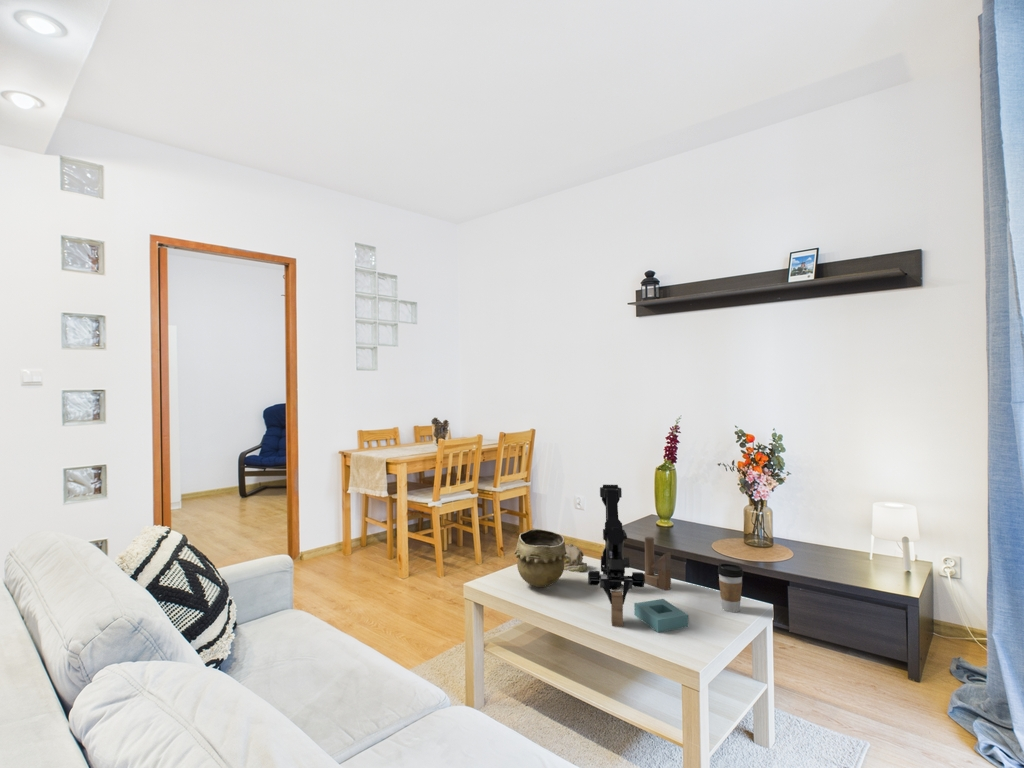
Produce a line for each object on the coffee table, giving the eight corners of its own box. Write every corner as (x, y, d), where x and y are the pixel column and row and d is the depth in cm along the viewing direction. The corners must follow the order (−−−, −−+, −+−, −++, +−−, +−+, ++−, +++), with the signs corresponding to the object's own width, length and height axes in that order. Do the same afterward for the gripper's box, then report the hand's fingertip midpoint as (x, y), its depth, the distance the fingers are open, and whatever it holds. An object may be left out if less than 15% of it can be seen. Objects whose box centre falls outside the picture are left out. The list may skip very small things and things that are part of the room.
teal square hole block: (634, 614, 188) (634, 603, 188) (663, 610, 192) (663, 598, 192) (657, 632, 175) (657, 619, 175) (688, 627, 178) (688, 614, 178)
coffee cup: (714, 603, 197) (714, 562, 197) (738, 603, 197) (738, 562, 197) (722, 613, 188) (722, 570, 188) (747, 613, 188) (747, 570, 188)
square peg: (611, 620, 184) (611, 590, 184) (622, 621, 183) (621, 591, 183) (612, 626, 180) (611, 595, 180) (622, 626, 179) (622, 595, 179)
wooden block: (665, 590, 210) (665, 543, 210) (642, 582, 218) (642, 537, 218) (671, 588, 212) (671, 541, 212) (648, 580, 220) (648, 535, 220)
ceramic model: (550, 567, 237) (550, 544, 237) (564, 560, 246) (564, 538, 246) (579, 574, 229) (579, 550, 229) (592, 566, 238) (592, 543, 238)
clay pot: (579, 586, 215) (578, 535, 215) (539, 600, 201) (539, 546, 201) (542, 572, 231) (542, 524, 231) (503, 584, 217) (503, 534, 217)
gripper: (587, 547, 186) (588, 591, 176) (644, 548, 184) (648, 594, 173) (587, 562, 194) (588, 606, 183) (641, 564, 192) (645, 608, 181)
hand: (617, 603), depth 180 cm, fingers closed on square peg, 3 cm apart
